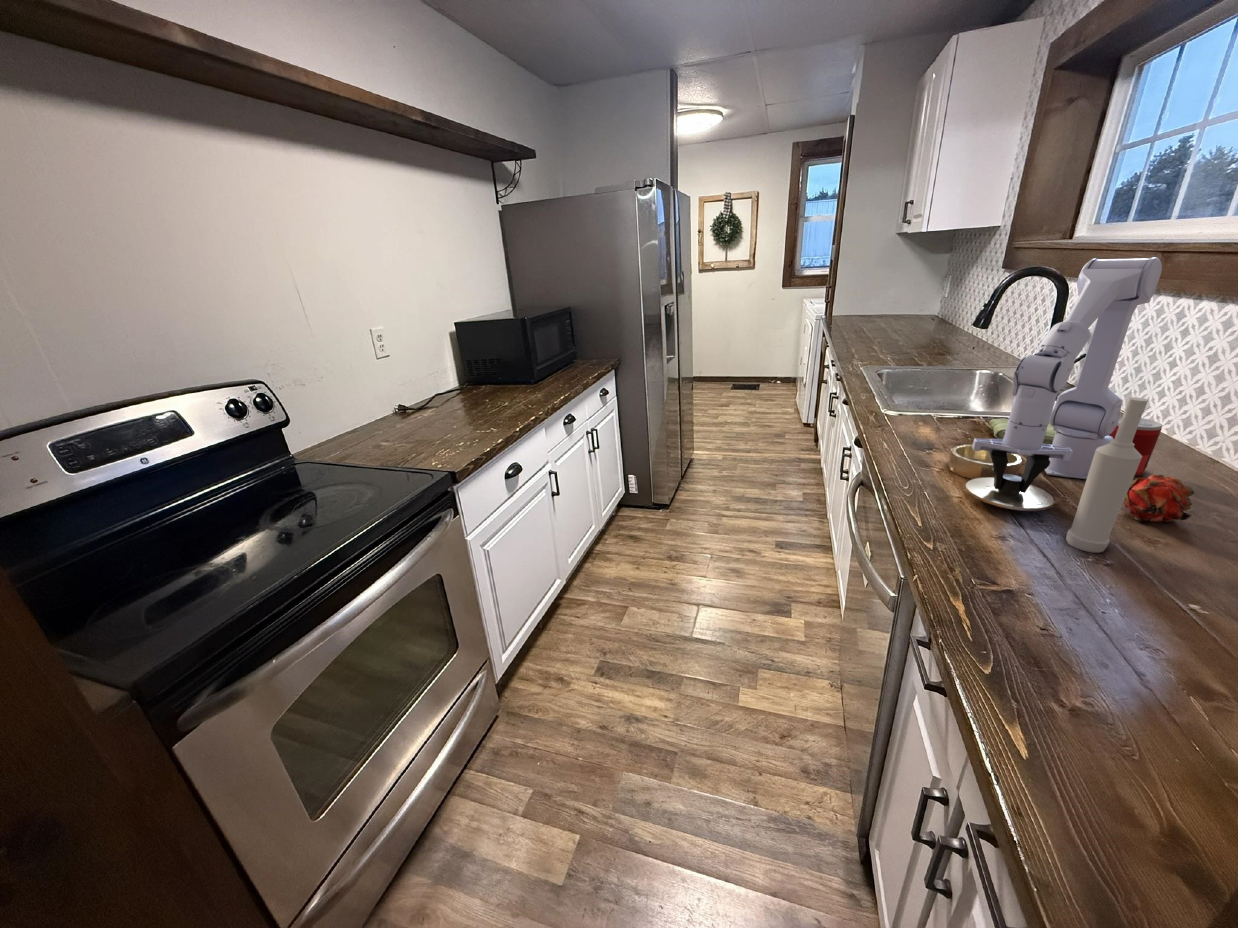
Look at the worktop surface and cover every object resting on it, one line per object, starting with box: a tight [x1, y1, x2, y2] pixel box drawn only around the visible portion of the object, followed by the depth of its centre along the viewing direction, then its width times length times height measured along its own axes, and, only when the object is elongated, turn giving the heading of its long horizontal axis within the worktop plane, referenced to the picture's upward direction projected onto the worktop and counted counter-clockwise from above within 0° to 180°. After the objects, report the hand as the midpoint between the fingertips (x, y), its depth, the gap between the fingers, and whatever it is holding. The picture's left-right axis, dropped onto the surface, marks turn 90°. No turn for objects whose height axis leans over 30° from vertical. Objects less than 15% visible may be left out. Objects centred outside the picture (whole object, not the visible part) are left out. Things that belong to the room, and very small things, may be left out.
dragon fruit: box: [1124, 473, 1195, 523], centre depth 88 cm, size 8×8×12 cm
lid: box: [965, 474, 1055, 512], centre depth 96 cm, size 14×14×4 cm
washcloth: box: [989, 418, 1056, 445], centre depth 128 cm, size 13×18×3 cm
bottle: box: [1065, 396, 1149, 554], centre depth 78 cm, size 5×5×25 cm
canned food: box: [1107, 416, 1163, 477], centre depth 106 cm, size 8×8×11 cm
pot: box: [948, 444, 1023, 480], centre depth 110 cm, size 13×13×4 cm
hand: (1008, 488), depth 96 cm, fingers closed on lid, 3 cm apart
